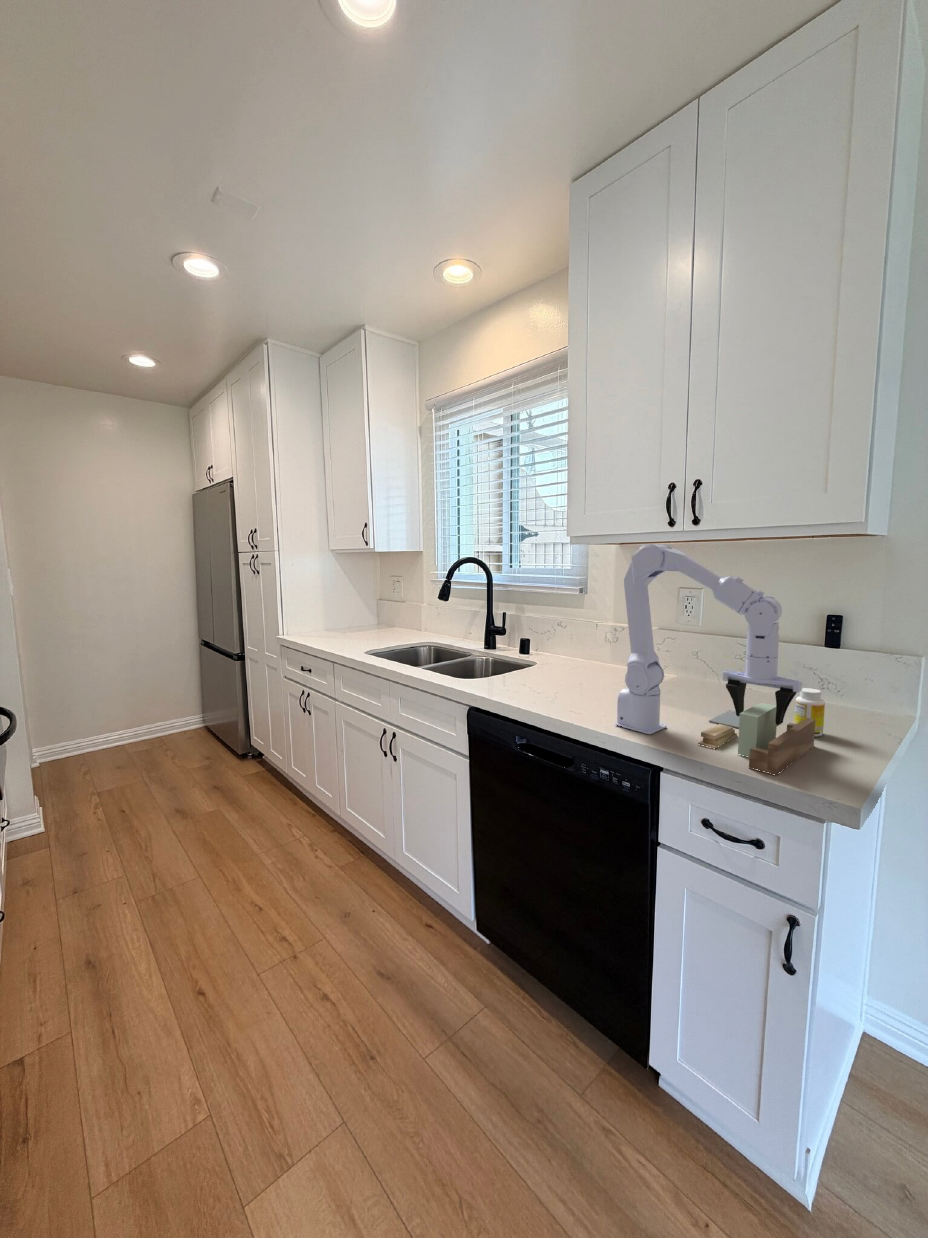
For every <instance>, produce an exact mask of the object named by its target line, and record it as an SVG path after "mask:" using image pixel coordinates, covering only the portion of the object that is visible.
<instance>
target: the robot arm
mask: <svg viewBox="0 0 928 1238" xmlns="http://www.w3.org/2000/svg"><path fill="white" fill-rule="evenodd" d="M630 559H631V561H630V564H629V566H628V569H627V571H626V572H625V575H624V579H623V587H624V588H623V589H624V596H625V597H624V599H625V605H626V606H625V607H626V616H627V626H628V637H629V644H630V655H629V658H628V660H627V664H626V665H627V671H626V673H625V676H624V677H625V678H624V682H625V685H626V688H622V689H621V690H620V692H619V694H618V696H617V703H616V704H617V707H616V708H617V712H616V713H617V714H616V715H617V717H616V723H615V726H616V725H618V727H620V726H622V727H621V728H624V729H628V730H631V731H635V732H638V733H642V734H646V735H653V734H655V733H656V732H658V731H661V730H664V729H665V728H667V727H668V725H667V724H664V723H661V722H660V721H661V720H660V719H661V689H660V688H661V687H660V684H662V683H663V681H664V679H665V671H664V669H663V667H662V666H661V664H660V658H659V656H658V654H657V653H656V652H655V646H654V636H653V628H652V627H653V625H652V616H651V607H650V606H651V605H650V598H649V585H650V584H651V583H652V582H653V581H654V579H656V577H657V576H658V575H660V574H662V573H665V572H679V573H680V574H683V575H685V576H687V577H688V578H690V579H692V580H694V581H695V582H697V583H699V584H701V585H703V586H704V587H706V588H708V589H710V590H711V592H712V595H713V599H715V600H716V601H718V602H720V603H721V604H723V605H724V606H726V607H728V608H729V609H731V610H732V611H734V612H736V613H737V614H739V615H744V618H745V620H746V622H747V624H748V625H747V626H748V627H747V634H746V652H745V655H746V656H745V671H735V670H734V671H733V670H729V669H728V670H725V671H722V681H725V682H727V683H725V688H726V689H727V691H728V693H729V695H730V698H731V701H732V703H733V706H734V709H735V710H734V711H736V716H740V713H742V712H743V711H745V695H746V689H747V688H746V687H747V684H748V685H756V686H760V687H761V686H762V687H767V688H774V689H778V690H776V691H775V692H774V695H775V703H776V704H775V705H776V719H775V721H776V724H777V725H781V724H783V723H784V719H785V717H786V713H787V711H788V708H789V706H790V705H791V702H793V701H792V700H793V699H794V698H795V696H796V695H797V693H800V691H802V688H803V681H802V680H795V679H792V678H786V677H782V676H778V663H779V662H778V661H779V646H780V645H779V644H780V643H779V641H780V634H779V631H780V626H779V625H780V624H779V623H780V622H778V621H779V620H780V619H781V617H782V614H783V607H782V606H781V604H780V602H779V601H778V600H777V599H776V598H775V597H774V596H768V595H765V592H764V591H762V590H759V591H758V590H756V589H754V588H752V587H751V586H749V585H748V584H746V583H744V578H741V577H740V576H736V577H735V576H734V577H733V576H731V575H729V576H726V577H722V576H720V575H719V574H717V573H715V572H714V571H713V570H711V569H709V568H708V567H706V566H704V564H702V563H700V562H699V561H697V560H695V559H694V558H692V557H691V556H689V555H688V554H686V553H684V552H682V551H681V550H679V549H676V548H672V547H671V545H668V544H665V543H661V544H660V543H659V544H653V543H647V544H643V545H641V546H640V547H639V548H638V549H637V550H636V551H635V552H634V553H633V554H632V555H631V558H630Z"/></svg>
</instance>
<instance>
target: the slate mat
mask: <svg viewBox="0 0 928 1238" xmlns="http://www.w3.org/2000/svg"><path fill="white" fill-rule="evenodd" d="M739 719H740V716H736V711H735V710H728V711H727V710H726V712H723V713H721V714H719V715H717V716H715V717H713V718H711V719H709V720H708V722H709V723H711V722H712V723H713V724H715V723H717V724H716V725H718V724H722V725H726V726H730V727H733V729H737V730H739Z"/></svg>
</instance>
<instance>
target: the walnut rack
mask: <svg viewBox="0 0 928 1238" xmlns="http://www.w3.org/2000/svg"><path fill="white" fill-rule="evenodd" d="M814 734H815V719H812V718H805V719H804V720H802V721H801V722H799V723H798V724H794V723H791V722H789V723H787V724H786V731H785V732H783V733H781V734H780V735H779V736H776V739H774V740H773V741H771V742H770V743H769V744H768V750H764V749H760V748H756V747H752V748H750V757H749V758H748V761H749V762H748V768H749V767H750V768H754V769H758V770H760V771H765V772H769V773H771V774H775V775H777V774H778V773H779V772H781V771H782V770H783V769H785V768H786V767H787V766H788V767H789V765H790V764H791V763H792V764H793V763H795V762H796V761H797V760H798V759H800V758H801V757H802V756H803V755H805V754H806V753H808V752H809V750H811V749H812V748H813V747H814V746H815V737H814ZM792 764H791V765H792ZM791 765H790V766H791ZM788 767H787V768H788ZM787 768H786V769H787ZM786 769H785V770H786ZM760 771H759V772H760ZM783 771H784V770H783ZM783 771H782V772H783ZM782 772H781V773H782ZM778 775H779V774H778ZM778 775H777V776H778Z"/></svg>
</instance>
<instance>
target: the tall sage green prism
mask: <svg viewBox="0 0 928 1238" xmlns="http://www.w3.org/2000/svg"><path fill="white" fill-rule="evenodd" d="M775 719H776V704H770V703H764V702H759V703H757V704H755V705H753V706H750V707H749V708H748V709H746V710H745V709H744V711H743V712H742V713H740V719H739V729H738V745H737V747H738V748H737V755H738V754H741V755H744V756H748V757H750V748H752V747H756V748H760V749H764V750H768V744H769V743H770V742H771V741H773V740H774V739H776V738H777V727H778V724H776V721H775Z"/></svg>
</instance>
